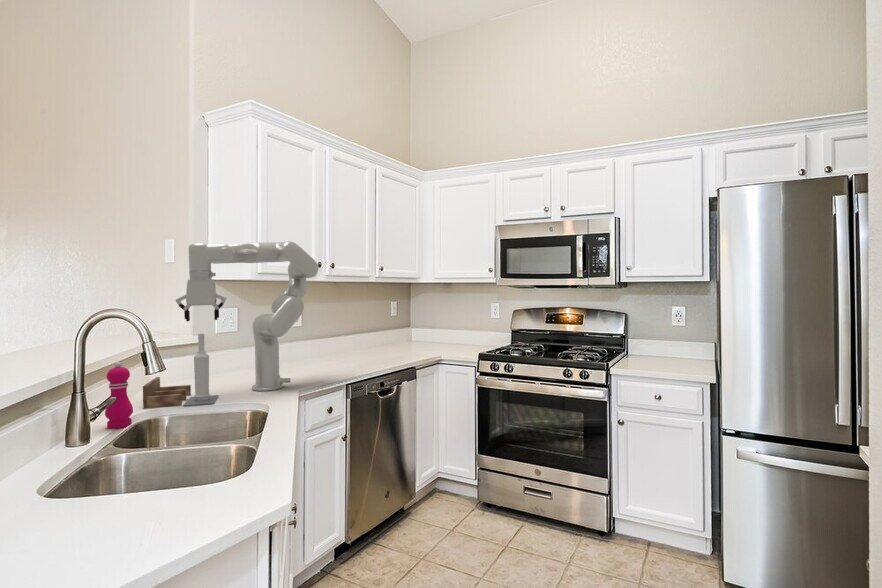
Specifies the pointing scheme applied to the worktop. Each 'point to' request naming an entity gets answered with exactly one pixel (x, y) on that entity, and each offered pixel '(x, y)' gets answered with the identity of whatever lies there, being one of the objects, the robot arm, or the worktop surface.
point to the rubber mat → (192, 401)
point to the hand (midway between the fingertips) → (202, 320)
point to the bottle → (201, 372)
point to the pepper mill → (119, 398)
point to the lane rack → (164, 394)
